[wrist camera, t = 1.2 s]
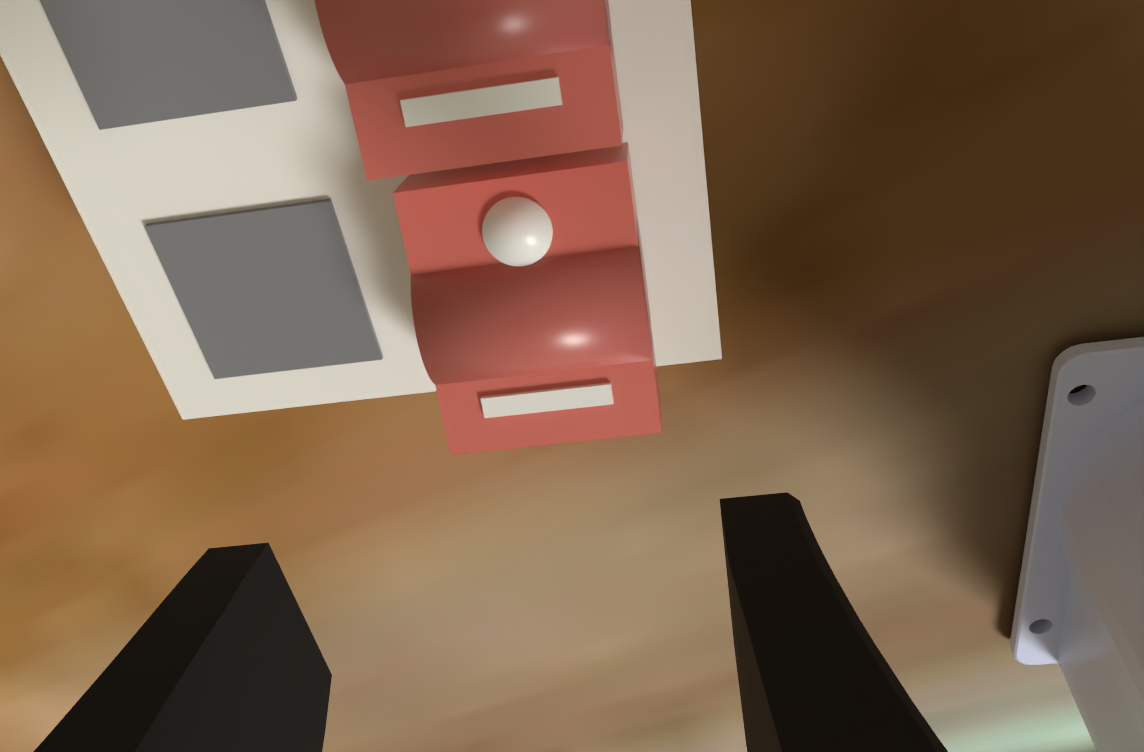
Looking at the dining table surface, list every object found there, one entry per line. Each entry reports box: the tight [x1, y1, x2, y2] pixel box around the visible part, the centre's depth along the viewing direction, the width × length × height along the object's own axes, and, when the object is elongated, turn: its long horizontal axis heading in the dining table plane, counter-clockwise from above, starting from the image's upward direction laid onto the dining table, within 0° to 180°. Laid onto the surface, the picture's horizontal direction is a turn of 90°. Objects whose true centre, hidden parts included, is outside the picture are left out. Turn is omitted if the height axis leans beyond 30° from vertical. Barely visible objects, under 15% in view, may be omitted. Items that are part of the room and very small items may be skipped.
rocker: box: [393, 142, 662, 455], centre depth 14 cm, size 4×3×2 cm
